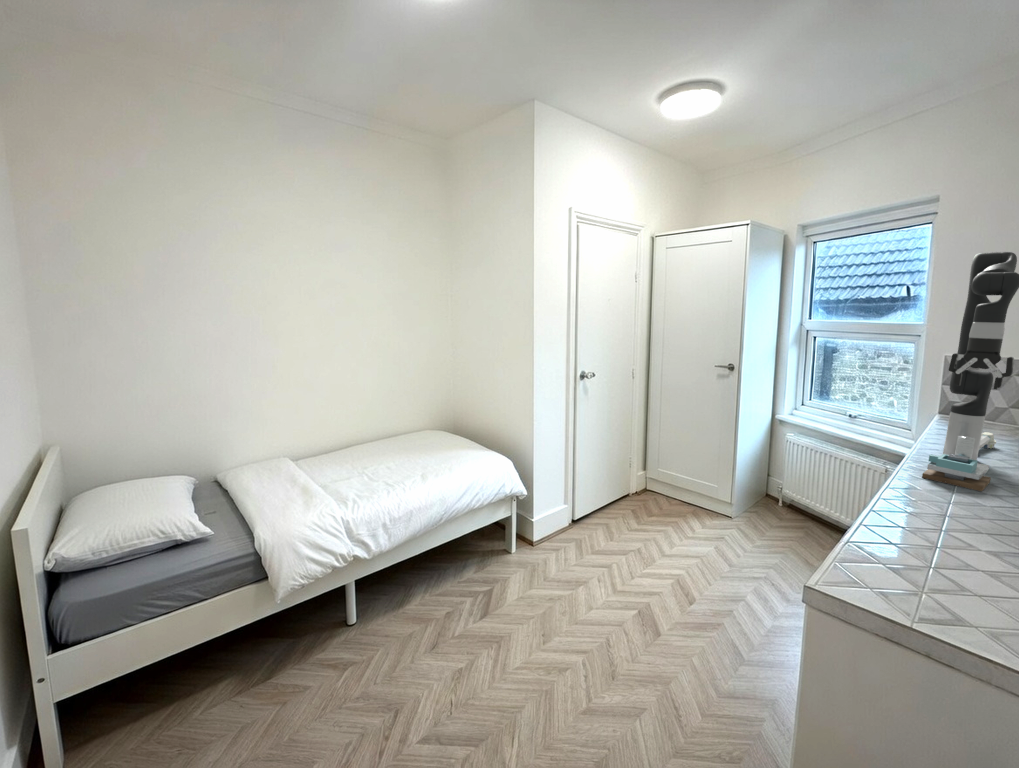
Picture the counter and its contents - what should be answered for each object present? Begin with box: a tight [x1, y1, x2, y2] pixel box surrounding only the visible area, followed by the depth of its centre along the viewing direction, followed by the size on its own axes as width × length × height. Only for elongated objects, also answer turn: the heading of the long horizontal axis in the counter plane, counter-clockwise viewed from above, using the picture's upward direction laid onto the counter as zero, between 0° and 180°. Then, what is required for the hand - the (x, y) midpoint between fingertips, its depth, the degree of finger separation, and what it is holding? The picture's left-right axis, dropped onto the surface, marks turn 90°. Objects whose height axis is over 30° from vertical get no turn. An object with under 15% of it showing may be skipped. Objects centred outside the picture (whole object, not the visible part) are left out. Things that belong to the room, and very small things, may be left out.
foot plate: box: [921, 469, 992, 492], centre depth 150 cm, size 14×14×2 cm
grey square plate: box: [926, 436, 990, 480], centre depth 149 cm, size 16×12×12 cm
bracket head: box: [928, 453, 979, 473], centre depth 148 cm, size 8×11×2 cm
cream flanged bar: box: [979, 431, 997, 450], centre depth 183 cm, size 5×7×25 cm
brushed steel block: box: [944, 454, 970, 481], centre depth 147 cm, size 4×4×7 cm
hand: (976, 387), depth 148 cm, fingers open, 8 cm apart
